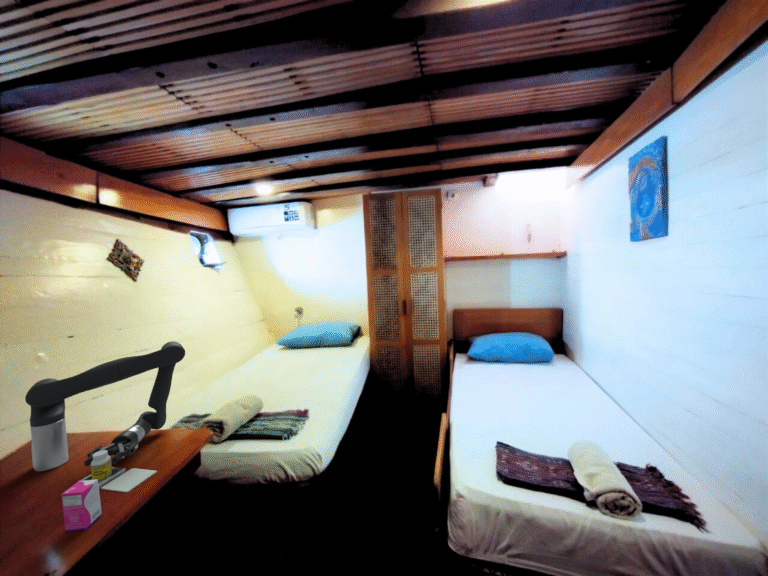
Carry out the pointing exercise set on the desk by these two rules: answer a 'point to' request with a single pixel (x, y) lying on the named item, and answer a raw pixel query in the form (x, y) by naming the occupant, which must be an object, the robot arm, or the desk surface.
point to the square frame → (115, 470)
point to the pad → (129, 480)
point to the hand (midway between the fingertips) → (99, 462)
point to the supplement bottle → (101, 465)
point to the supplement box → (81, 505)
